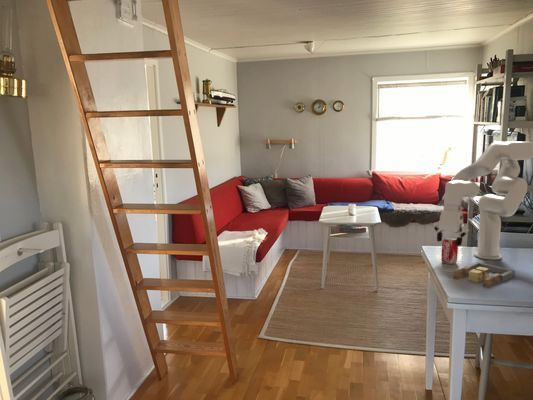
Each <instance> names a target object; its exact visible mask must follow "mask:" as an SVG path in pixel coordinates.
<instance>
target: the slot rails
mask: <svg viewBox="0 0 533 400" xmlns="http://www.w3.org/2000/svg"><path fill="white" fill-rule="evenodd" d="M466 266H467V267H465V266H464V267H462V268H459V269H457V270H454V271H453V279H455V280H459V279H461V278H464V277H465V276H467V275H468V276H469V271H471V267H469V266H468V265H466ZM500 275H501V274H499V273H494V274H492V275H489V277H487V278H485V279H482V287H485V288H489V287H490V286H492V285H494V284H497V283H499V282H501V281H500Z"/></svg>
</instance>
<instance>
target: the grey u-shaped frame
mask: <svg viewBox="0 0 533 400" xmlns="http://www.w3.org/2000/svg"><path fill="white" fill-rule="evenodd" d="M467 266H469V267H471V270H473V269H474V270H476V268H478V267H484V268H488V269H489V272H491V273H494V274H496V273H498V274H500V281H499V282H505V281H507V280H510V279H511V278H513V277H515V273H516V270H514V269H510V268H507V267H501V266H497V265H493V264H488V263H484V262H480V261H476V262H472V263H470V264H468V265H465V266H464V267H467Z"/></svg>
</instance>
